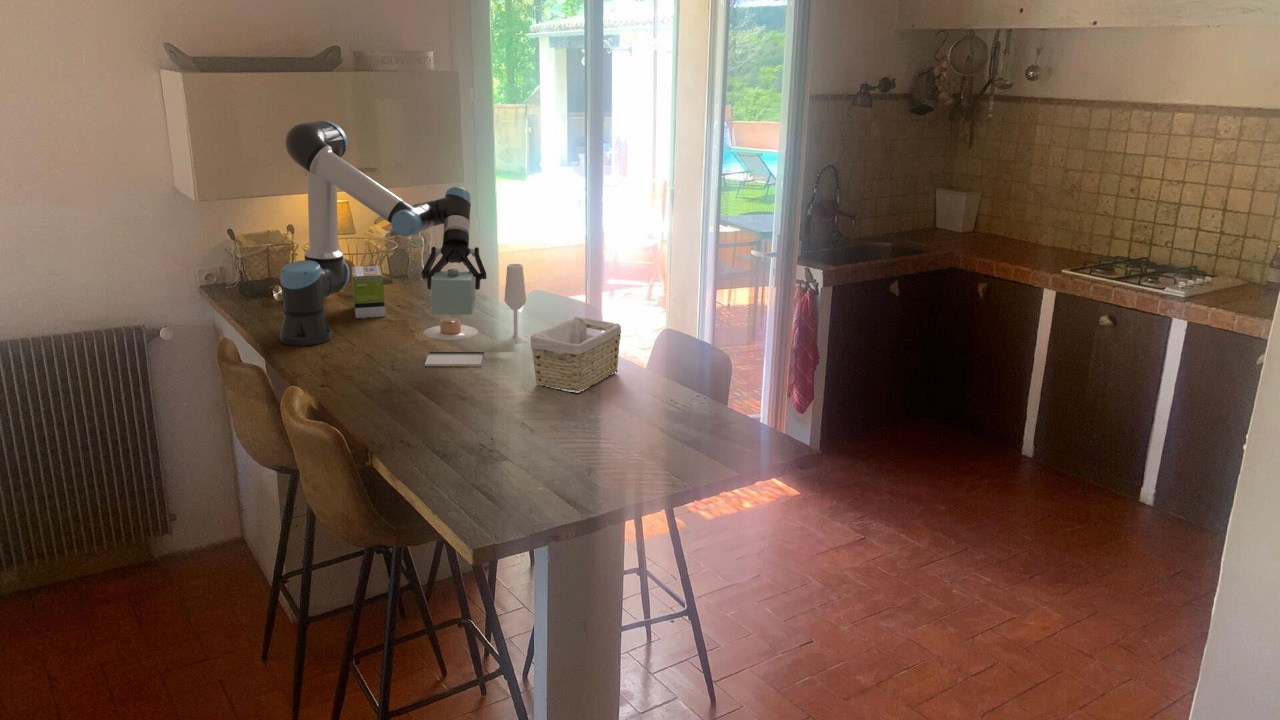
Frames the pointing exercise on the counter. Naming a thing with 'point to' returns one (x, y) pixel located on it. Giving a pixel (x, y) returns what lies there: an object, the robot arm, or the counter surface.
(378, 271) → the tea box
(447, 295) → the cover
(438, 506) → the counter surface
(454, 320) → the plate
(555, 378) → the storage basket
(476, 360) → the mat
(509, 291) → the champagne flute
